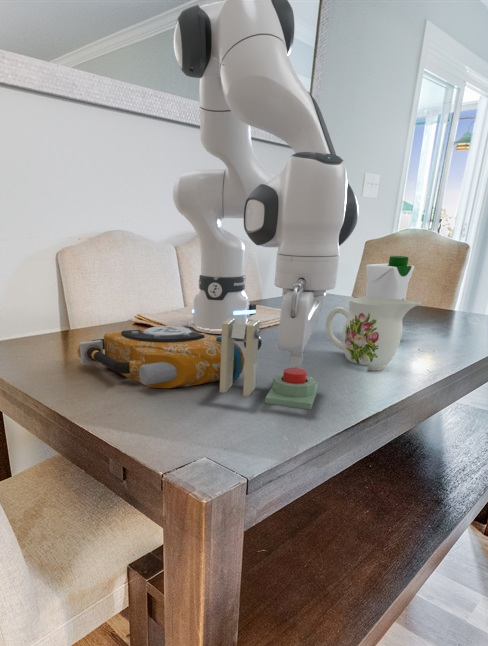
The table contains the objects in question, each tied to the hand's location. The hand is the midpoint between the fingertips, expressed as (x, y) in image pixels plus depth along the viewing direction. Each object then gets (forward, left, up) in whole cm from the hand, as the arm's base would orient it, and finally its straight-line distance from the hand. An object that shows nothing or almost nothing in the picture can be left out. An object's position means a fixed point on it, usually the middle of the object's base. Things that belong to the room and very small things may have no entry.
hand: (296, 364), depth 73 cm
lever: (-3, -9, +1) cm, 10 cm away
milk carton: (-52, +13, -7) cm, 54 cm away
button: (0, 0, -3) cm, 3 cm away
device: (-4, -27, -7) cm, 28 cm away
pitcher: (-27, +10, -7) cm, 29 cm away
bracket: (+1, -9, -7) cm, 11 cm away
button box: (0, 0, -6) cm, 6 cm away
